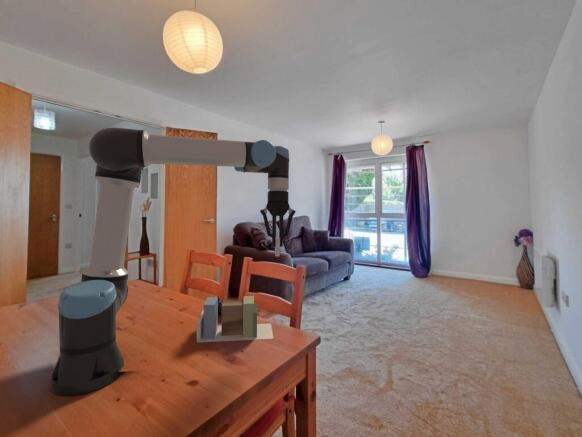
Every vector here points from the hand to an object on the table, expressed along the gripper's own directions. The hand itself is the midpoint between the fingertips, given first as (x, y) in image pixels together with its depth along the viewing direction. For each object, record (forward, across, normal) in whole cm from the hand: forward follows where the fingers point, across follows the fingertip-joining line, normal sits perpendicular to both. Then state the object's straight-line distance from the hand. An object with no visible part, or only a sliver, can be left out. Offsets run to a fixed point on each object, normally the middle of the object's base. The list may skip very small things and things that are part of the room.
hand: (277, 255), depth 103 cm
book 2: (+25, +15, +6) cm, 30 cm away
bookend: (+25, +8, +6) cm, 27 cm away
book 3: (+25, +10, +6) cm, 28 cm away
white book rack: (+26, +14, +6) cm, 30 cm away
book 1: (+25, +22, +6) cm, 34 cm away
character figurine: (+27, +20, -12) cm, 35 cm away
